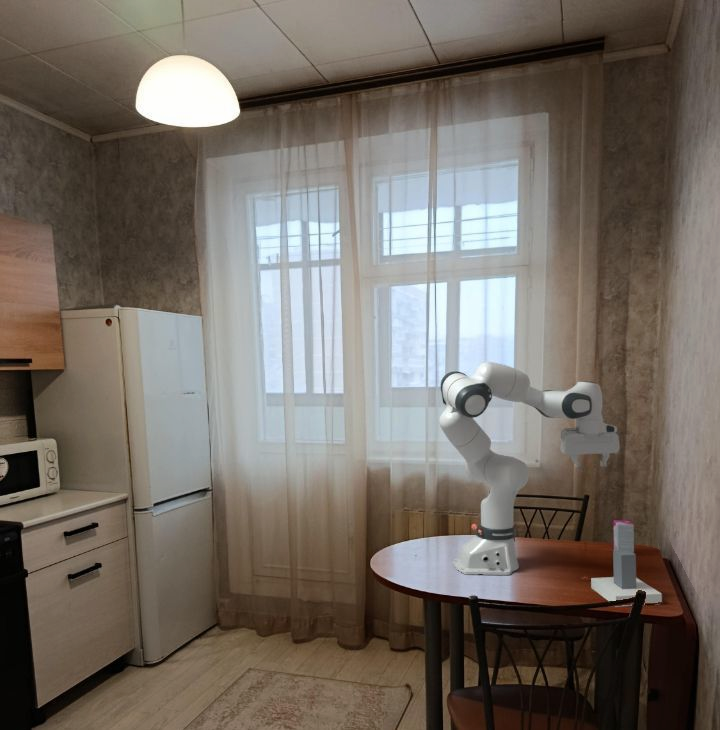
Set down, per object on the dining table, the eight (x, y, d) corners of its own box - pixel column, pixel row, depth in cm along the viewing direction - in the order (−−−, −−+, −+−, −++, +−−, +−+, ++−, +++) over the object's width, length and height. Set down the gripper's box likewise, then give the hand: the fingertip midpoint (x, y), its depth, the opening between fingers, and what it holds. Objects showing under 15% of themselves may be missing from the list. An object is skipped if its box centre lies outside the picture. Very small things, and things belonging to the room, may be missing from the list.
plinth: (616, 606, 160) (615, 596, 160) (591, 587, 174) (591, 578, 174) (661, 604, 161) (661, 593, 161) (633, 585, 175) (633, 575, 175)
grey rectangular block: (622, 589, 165) (621, 555, 165) (613, 583, 169) (613, 550, 169) (636, 588, 165) (635, 554, 165) (627, 582, 170) (627, 549, 170)
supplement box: (634, 556, 202) (634, 524, 202) (617, 555, 203) (616, 524, 203) (629, 551, 207) (629, 520, 207) (613, 550, 208) (612, 519, 208)
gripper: (565, 429, 191) (565, 469, 191) (621, 427, 193) (622, 467, 193) (556, 427, 197) (557, 466, 197) (611, 425, 199) (612, 464, 199)
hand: (590, 466), depth 195 cm, fingers open, 8 cm apart
